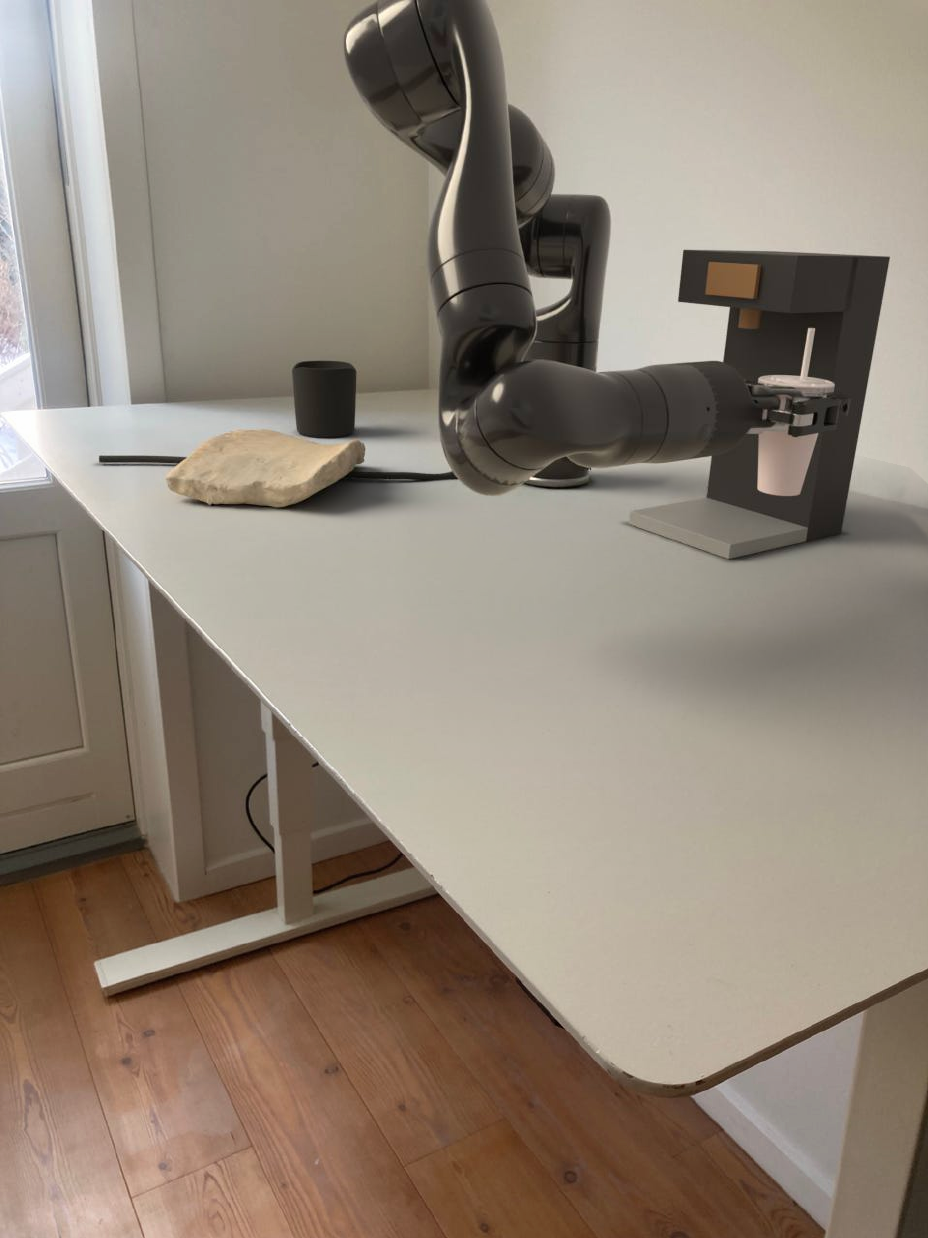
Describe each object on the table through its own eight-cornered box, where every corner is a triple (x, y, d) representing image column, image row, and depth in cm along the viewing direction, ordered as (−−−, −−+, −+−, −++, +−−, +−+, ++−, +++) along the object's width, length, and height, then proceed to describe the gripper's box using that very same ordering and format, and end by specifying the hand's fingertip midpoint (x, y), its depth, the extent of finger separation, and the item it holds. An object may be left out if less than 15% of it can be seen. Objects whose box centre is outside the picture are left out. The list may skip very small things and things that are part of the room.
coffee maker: (728, 559, 97) (769, 254, 87) (628, 524, 107) (654, 248, 97) (841, 533, 107) (890, 256, 96) (739, 503, 117) (773, 251, 107)
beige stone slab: (389, 474, 129) (244, 448, 132) (394, 417, 126) (246, 392, 129) (327, 531, 107) (156, 500, 110) (331, 464, 104) (155, 434, 107)
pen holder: (369, 431, 151) (369, 364, 147) (329, 441, 143) (328, 370, 140) (321, 424, 155) (320, 358, 152) (281, 433, 148) (278, 364, 144)
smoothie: (820, 502, 85) (850, 333, 80) (743, 496, 86) (768, 329, 81) (811, 485, 91) (839, 326, 85) (739, 479, 92) (762, 322, 87)
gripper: (756, 376, 71) (892, 364, 80) (617, 352, 82) (751, 344, 91) (741, 479, 74) (874, 456, 83) (609, 442, 84) (739, 426, 93)
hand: (809, 398), depth 87 cm, fingers closed on smoothie, 6 cm apart
